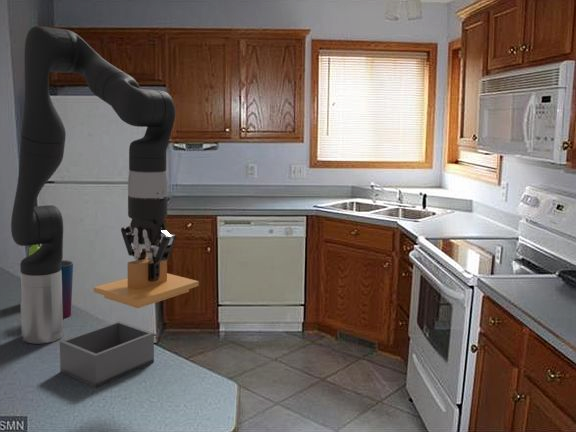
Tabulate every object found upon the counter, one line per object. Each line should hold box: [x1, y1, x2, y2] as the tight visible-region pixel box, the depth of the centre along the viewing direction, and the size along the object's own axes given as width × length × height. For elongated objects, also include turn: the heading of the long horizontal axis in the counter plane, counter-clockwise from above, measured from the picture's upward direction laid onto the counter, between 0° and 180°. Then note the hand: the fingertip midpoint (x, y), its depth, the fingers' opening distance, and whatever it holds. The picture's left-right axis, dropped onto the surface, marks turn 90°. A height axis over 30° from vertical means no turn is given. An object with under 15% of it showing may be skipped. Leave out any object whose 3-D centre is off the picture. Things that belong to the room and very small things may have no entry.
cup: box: [61, 259, 74, 319], centre depth 155 cm, size 7×7×15 cm
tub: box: [59, 320, 155, 388], centre depth 126 cm, size 12×16×7 cm
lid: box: [93, 255, 200, 309], centre depth 112 cm, size 12×16×7 cm
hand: (147, 278), depth 112 cm, fingers closed on lid, 2 cm apart
